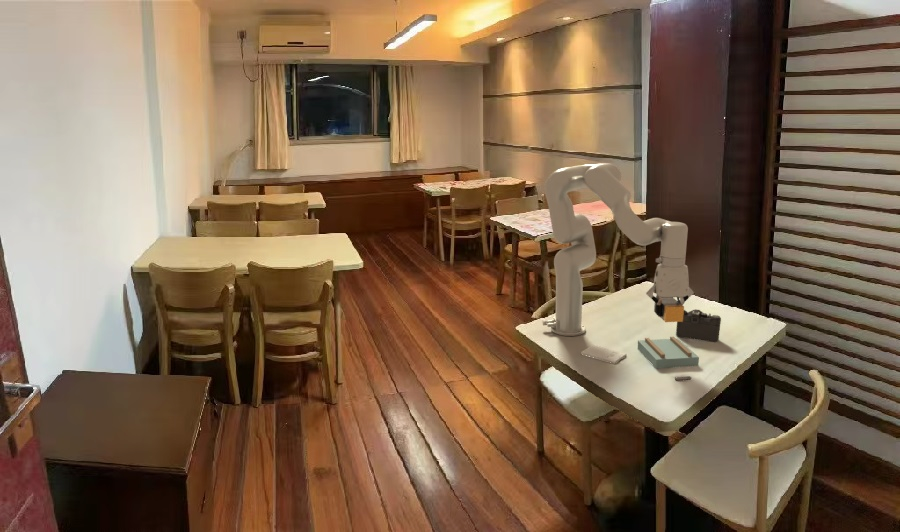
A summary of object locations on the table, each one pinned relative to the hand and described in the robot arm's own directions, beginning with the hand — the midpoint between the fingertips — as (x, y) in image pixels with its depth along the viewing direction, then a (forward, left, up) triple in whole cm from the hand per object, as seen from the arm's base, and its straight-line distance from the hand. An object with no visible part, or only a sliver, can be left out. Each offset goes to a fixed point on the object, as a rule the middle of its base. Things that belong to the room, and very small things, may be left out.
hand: (668, 314), depth 206 cm
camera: (+20, +18, -16) cm, 31 cm away
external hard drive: (-19, +5, -16) cm, 26 cm away
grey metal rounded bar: (-1, -16, -15) cm, 22 cm away
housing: (0, 0, -1) cm, 1 cm away
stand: (+1, +1, -15) cm, 15 cm away
